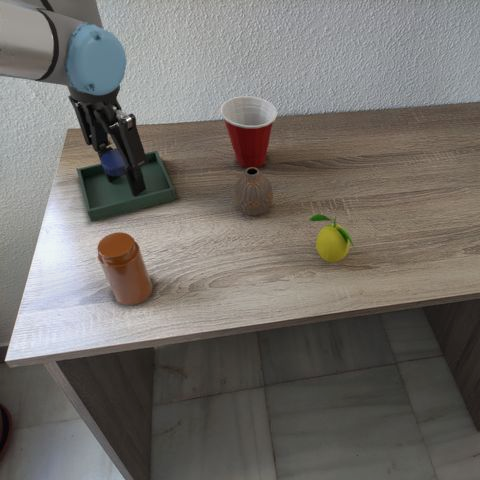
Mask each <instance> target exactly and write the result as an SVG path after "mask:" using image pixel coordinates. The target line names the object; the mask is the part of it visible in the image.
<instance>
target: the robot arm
mask: <svg viewBox="0 0 480 480" xmlns="http://www.w3.org/2000/svg"><path fill="white" fill-rule="evenodd" d="M126 66H127V55H126V51H125V47H124V45H123V44H122V42H121V41H120V39H119V38H118V37H117V36H116V35H115V34H114V33H112V32H111V31H109V30H107V29H104V26H103V22H102V18H101V15H100V11H99V8H98V3H97V0H0V77H7V78H14V79H21V80H27V81H28V80H29V81H34V82H39V83H46V84H52V85H53V84H54V85H60V86H66V87H67V90H68V93H69V94H70V95H68V96H67V97H68V100H69V103H71V106H72V107H73V109H74V113H75V115H76V118H77V122H78V124H79V127H80V131H81V133H82V136H83V139H84V142H85V144H86V145H87V146H88V147H89V146H92V149H93V150H94V151H95V152H96V153H97V155H98V158H99V160H100V159H101V157H102V155H103V154H104V153H106V152H107V151H109V150H112V149H114V148H113V147H112V146H110V145H113V144H114V145H115V147H116V148H117V149H118V151H119V153H120V155H121V157H122V159H123V161H124V163H125V165H126V166H124V167H123V169H124V171H125V174H126V177H127V180H128V183H129V186H130V189H131V192H132V195H133V196H135V197H136V196H137V195H138V194H140V193H141V192H143V191H144V190H146V186H145V183H144V179H143V174H142V170H141V167H142V166H144V165H145V164H147V163H148V161H147V158H146V155H145V153H146V152H145V149H144V147H143V144H142V143H143V142H142V139H141V136H140V134H139V130H138V128H137V117H136V116H135V114H134V113H129V114H126V113H125V112H124V111H123V108H122V106H121V104H120V103H119V101H118V95H119V93H120V90H121V83H122V81H123V80H124V77H125V74H126V68H127V67H126ZM109 136H110V138H111V140H112V142H113V143H112V142H111V141H110V140H109ZM105 175H106V178H107V180H108V182H110V183H112V182H113V181H115V180H116V179H118V178H119V177H121V176H111V175H108V174H106V173H105Z"/></svg>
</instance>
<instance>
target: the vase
mask: <svg viewBox="0 0 480 480" xmlns="http://www.w3.org/2000/svg"><path fill="white" fill-rule="evenodd" d="M233 195H234V201H235V203H236V206H238V208H239V210H240V211H241V212H243V213H244V214H245V215H248V216H253V217H255V216H260V215H263V214H265V213H266V212H267V211H268V210H269V209H270V208H271V206H272V203H273V199H274V190H273V186H272V183H271V181H270V180H269V178H268V177H267V176H265V174H263V173H262V172H261V171H260V170H259V168H258V167H257V168H255V167H249V168H245V170H244V172H243V173H242V174H241V176H239V178H238V179H237V181H236V183H235V185H234V191H233Z"/></svg>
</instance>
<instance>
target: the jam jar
mask: <svg viewBox="0 0 480 480" xmlns="http://www.w3.org/2000/svg"><path fill="white" fill-rule="evenodd" d="M97 259H98V262H99V264H100V266H101V268H102V271H103V273H104V275H105V277H106V280H107V282H108V284H109V286H110V289H111V291H112V293H113V295H114V298H115V299H116V301H117V302H118V303H120V304H121V305H125V306H134V305H135V306H136V305H139V304H141V303H143V302H144V301H146V300H147V299H148V298H149V297H150V296H151V295H152V292H153V287H154V286H153V283H152V280H151V277H150V274H149V272H148V269H147V266H146V262H145V260H144V257H143V255H142V251H141V248H140V246H139V243H137V242H136V240H135V238H134V237H133V236H132V235H131V234H129V233H126V232H120V231H119V232H118V231H117V232H112V233H110V234H108V235H105V236H104V237H103V238H101V240H100V241H99V242H98V243H97Z"/></svg>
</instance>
